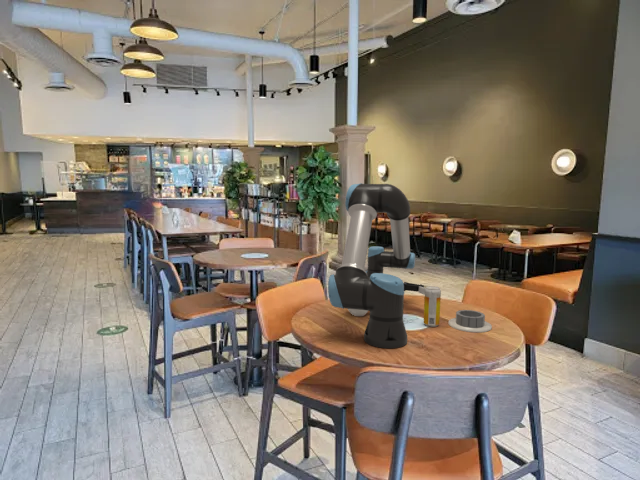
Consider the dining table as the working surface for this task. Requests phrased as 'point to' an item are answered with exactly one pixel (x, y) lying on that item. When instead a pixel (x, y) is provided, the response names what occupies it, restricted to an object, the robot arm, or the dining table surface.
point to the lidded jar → (357, 312)
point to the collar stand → (470, 321)
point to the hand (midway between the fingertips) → (416, 294)
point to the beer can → (432, 306)
